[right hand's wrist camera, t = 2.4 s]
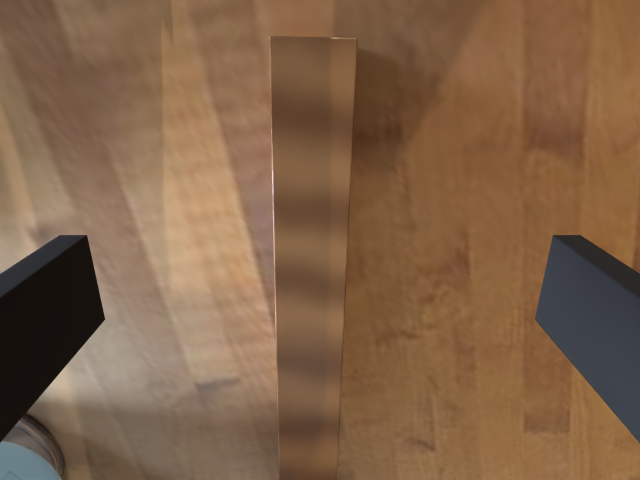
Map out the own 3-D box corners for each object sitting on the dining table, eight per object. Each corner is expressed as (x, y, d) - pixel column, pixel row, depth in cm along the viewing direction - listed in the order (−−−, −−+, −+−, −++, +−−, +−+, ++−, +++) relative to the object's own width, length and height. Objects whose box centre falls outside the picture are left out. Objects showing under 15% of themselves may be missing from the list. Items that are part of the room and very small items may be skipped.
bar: (280, 42, 33) (269, 36, 26) (349, 44, 34) (357, 37, 26) (288, 607, 60) (283, 685, 53) (326, 607, 60) (327, 685, 53)
